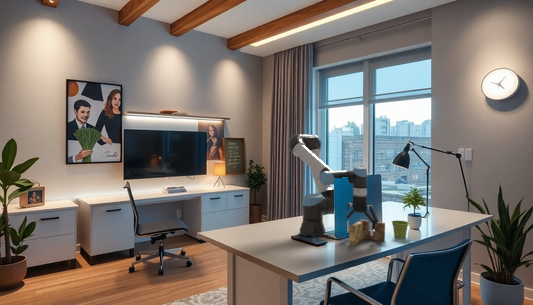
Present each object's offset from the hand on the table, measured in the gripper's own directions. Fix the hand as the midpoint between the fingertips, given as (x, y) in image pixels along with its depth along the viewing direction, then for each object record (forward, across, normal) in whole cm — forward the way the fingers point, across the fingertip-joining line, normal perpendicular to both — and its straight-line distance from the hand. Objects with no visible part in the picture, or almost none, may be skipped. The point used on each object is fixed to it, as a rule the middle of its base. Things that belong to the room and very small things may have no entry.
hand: (359, 233), depth 198 cm
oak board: (+4, 0, -4) cm, 6 cm away
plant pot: (+4, +17, +21) cm, 27 cm away
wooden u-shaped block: (+4, +5, +7) cm, 9 cm away
